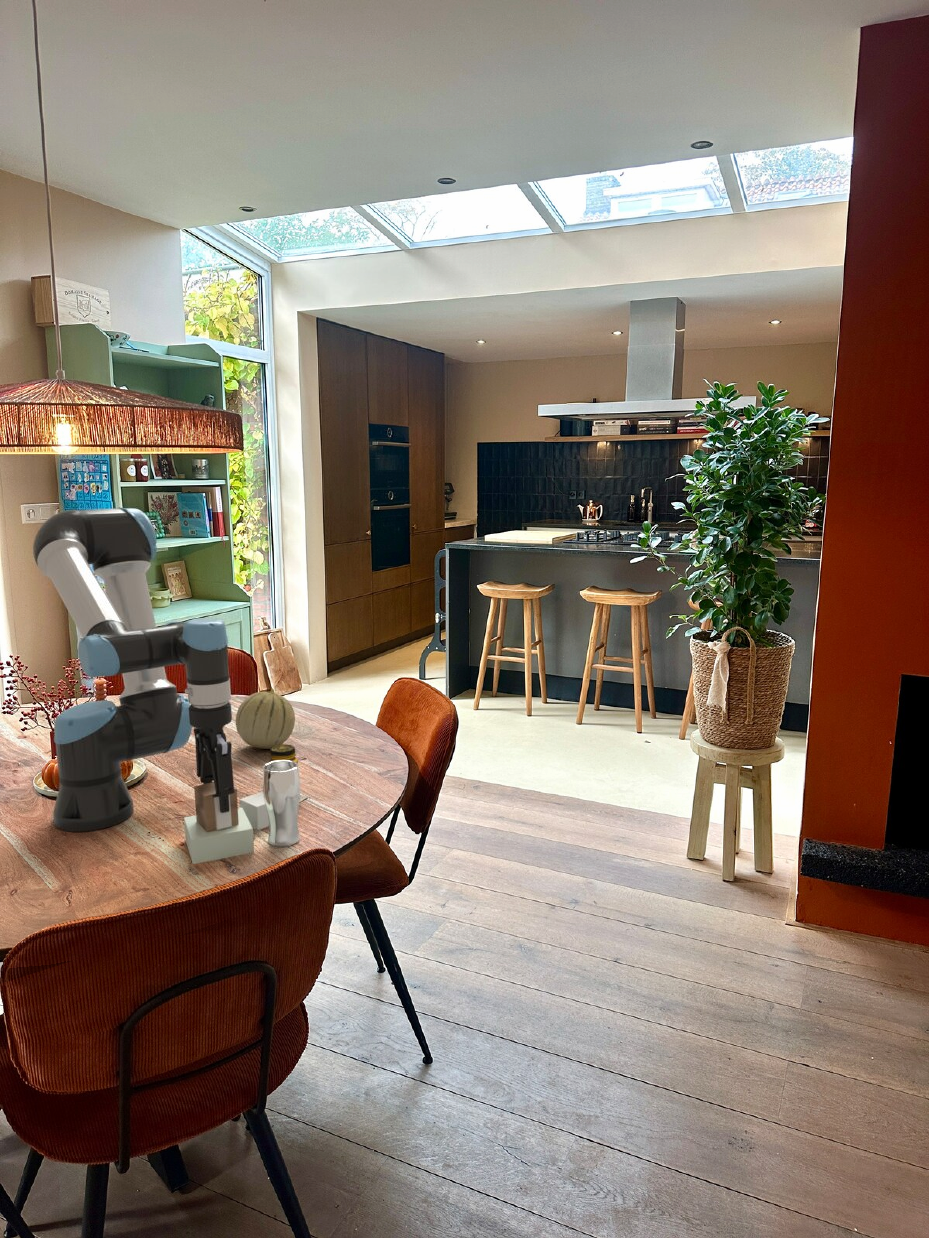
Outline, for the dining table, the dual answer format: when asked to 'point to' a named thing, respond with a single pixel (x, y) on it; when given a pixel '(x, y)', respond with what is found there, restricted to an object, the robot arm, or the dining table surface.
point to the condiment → (284, 757)
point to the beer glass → (282, 801)
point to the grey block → (255, 810)
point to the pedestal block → (218, 839)
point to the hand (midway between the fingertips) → (217, 821)
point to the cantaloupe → (265, 720)
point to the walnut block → (211, 806)
